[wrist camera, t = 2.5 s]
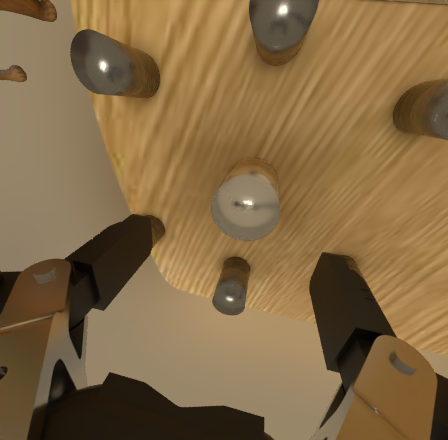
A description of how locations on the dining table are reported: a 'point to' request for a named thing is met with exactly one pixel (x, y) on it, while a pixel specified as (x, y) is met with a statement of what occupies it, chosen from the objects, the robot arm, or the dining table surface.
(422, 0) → the sage mat
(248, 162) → the clear rounded cylinder
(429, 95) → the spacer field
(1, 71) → the lion figurine
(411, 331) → the dining table surface
